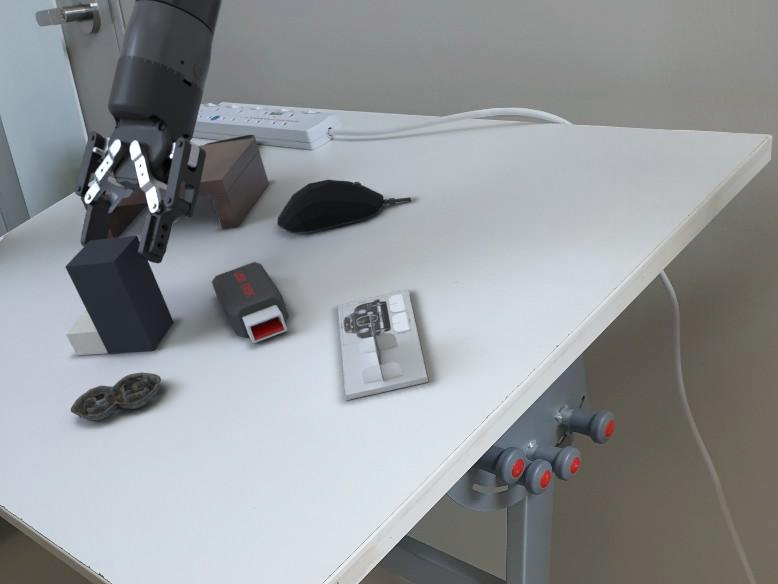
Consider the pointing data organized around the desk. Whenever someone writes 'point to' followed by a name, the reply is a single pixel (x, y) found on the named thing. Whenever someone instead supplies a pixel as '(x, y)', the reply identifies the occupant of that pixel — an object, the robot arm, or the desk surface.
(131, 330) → the charcoal rectangular prism
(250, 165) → the brown coffee table
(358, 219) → the gaming mouse
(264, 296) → the usb drive
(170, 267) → the desk surface
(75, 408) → the corroded twin loop
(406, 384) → the car print tile
